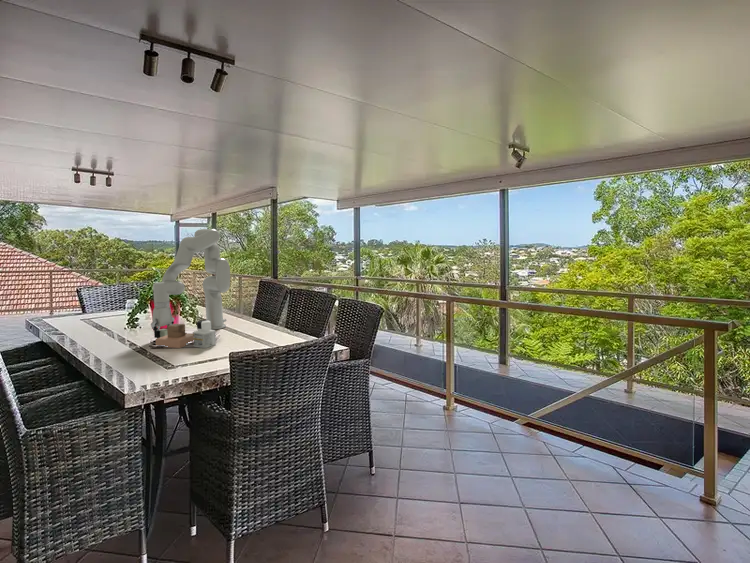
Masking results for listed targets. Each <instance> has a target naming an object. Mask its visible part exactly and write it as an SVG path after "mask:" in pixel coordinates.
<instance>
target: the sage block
mask: <svg viewBox="0 0 750 563" xmlns="http://www.w3.org/2000/svg"><path fill="white" fill-rule="evenodd" d="M159 331H160V337H163V336H166V335H168V333H167V328H160V329H159Z"/></svg>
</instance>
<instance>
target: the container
mask: <svg viewBox="0 0 750 563" xmlns="http://www.w3.org/2000/svg"><path fill="white" fill-rule="evenodd" d="M196 329H197V330H195V331H193V332H192V334H193V340H194V343H193V347H194V348H199V349H200V348H201V349H206V348H210V347H214V346H216V345H217V339H216V338H217V336H216V329H211V322H210V321H209V320H206V319H204V320H198V321H197V322H196Z"/></svg>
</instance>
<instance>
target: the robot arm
mask: <svg viewBox="0 0 750 563" xmlns="http://www.w3.org/2000/svg"><path fill="white" fill-rule="evenodd" d="M220 238H221V236H220V232H219V231H218V230H216V229H215V228H202V229H201V228H200V229H198V230H196V231H195V232H194V236H185V237H183V238H182V239H181V241H180V244H179V247H178V249H177V252H176V255H175V258H174V261H173V262H172V263H171V265H169V267H168V268H167V269H166V271H165V272H164V274H163V277H162V280H161V281H157V282H154V283H153V284H152V286H153V287H152V289H153V304H154V305H153V306H154V308H153V310H152V321H151V323H150V327H151V329H152V330H153V334H154V339H157V338H160V331H159V330H161V327H167V326H169V325H172V324H175V317H173V316H172V315H173V314H172V309H171V307H170V305H171V304H170V296H171V295H174V296H175V295H181V294H183V293H184V291H185V289H186V288H185V287H186V286H185V284H184V283H183V282H182V281H178V280H176V279H177V278H178V276H179V275H180V274H181V273H183V271H185V270H186V269H188V268H189V267H191V264H192V260H193V258H194V256H195V253H199V252H202V251H204V270H205V271H206V273H207V274H212V275H209V276H206V277H205V278H204V279H203V280H202V289H203V293H204V300H205V301H204V302H205V303H204V304H205V320H209V321H210V322H211V329H210V330H219V329H224V328H226V326H227V324H226V322H228V321H227V318H224V316H223V314H224V313H223V298H222V293H226V292H228V291H229V289H230V287H231V266H230V264H229V261H228V260H227V259H225V258H221V257H220V255H221V254H220V247H219V245H218V244H217V243H218V242H219V240H220Z"/></svg>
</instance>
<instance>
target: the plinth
mask: <svg viewBox="0 0 750 563" xmlns="http://www.w3.org/2000/svg"><path fill="white" fill-rule="evenodd" d="M190 341H193V333H186V332H185V336H182V337H179V338H168V335H166V336H163V337H160V338H155V346H156V345H165V346H168V347H167V348H174V349H181V348H183V347H186V346H187V345H186V343H188V342H190ZM185 345H186V346H185Z"/></svg>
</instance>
